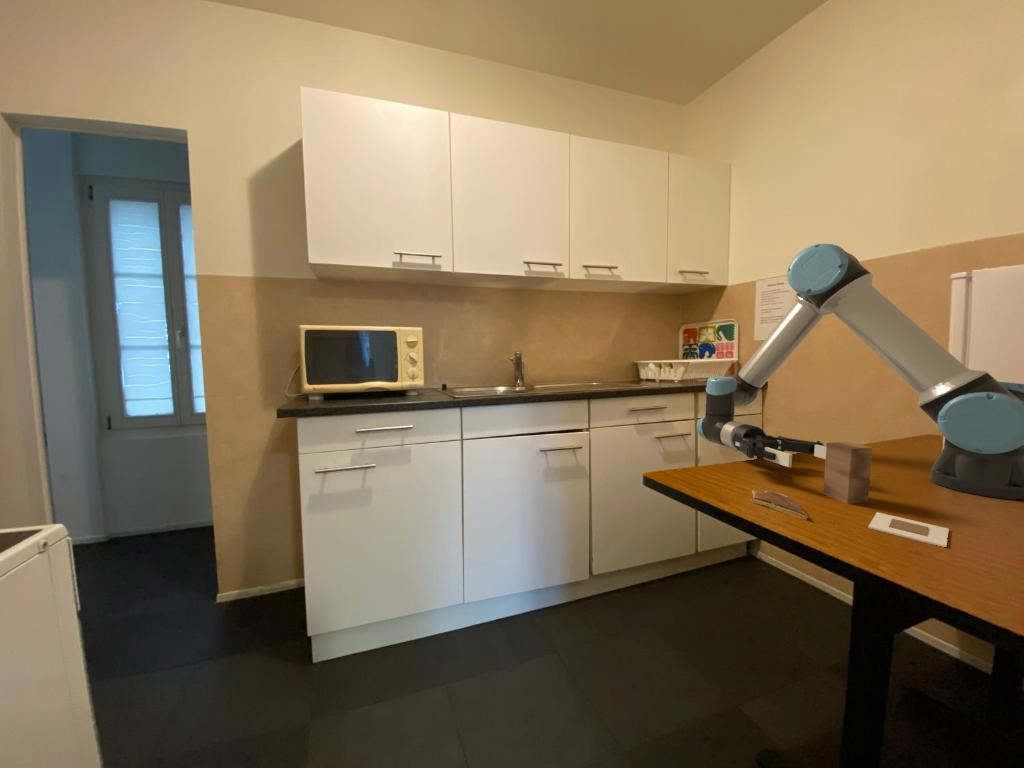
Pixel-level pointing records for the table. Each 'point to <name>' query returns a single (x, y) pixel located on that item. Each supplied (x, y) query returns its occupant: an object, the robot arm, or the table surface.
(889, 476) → the table surface
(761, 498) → the shard
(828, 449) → the walnut block
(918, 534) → the swatch
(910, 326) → the robot arm
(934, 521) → the table surface
